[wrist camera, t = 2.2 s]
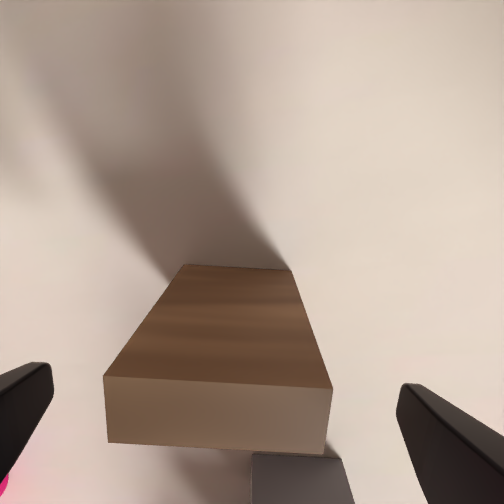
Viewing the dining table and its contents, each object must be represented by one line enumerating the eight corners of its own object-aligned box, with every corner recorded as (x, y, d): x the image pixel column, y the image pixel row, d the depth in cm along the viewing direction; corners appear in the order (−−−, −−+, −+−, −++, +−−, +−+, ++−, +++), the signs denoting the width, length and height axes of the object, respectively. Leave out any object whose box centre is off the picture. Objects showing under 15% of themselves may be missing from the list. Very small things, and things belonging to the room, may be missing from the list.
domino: (184, 264, 14) (102, 375, 7) (291, 270, 14) (332, 389, 7) (184, 300, 15) (108, 442, 7) (287, 305, 15) (323, 454, 7)
